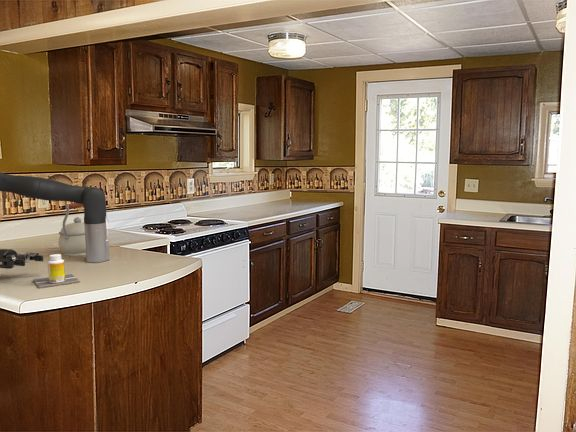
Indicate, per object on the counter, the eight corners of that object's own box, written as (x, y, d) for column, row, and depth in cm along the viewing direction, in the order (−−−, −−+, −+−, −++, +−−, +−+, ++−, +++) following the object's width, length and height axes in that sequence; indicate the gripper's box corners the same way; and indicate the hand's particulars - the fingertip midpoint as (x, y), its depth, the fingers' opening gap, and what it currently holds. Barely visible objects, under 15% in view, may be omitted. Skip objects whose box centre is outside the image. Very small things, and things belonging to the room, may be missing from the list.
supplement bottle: (68, 281, 192) (66, 254, 191) (52, 284, 188) (50, 257, 187) (61, 279, 196) (59, 253, 195) (46, 282, 192) (44, 255, 191)
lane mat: (71, 275, 205) (71, 273, 205) (79, 282, 193) (79, 280, 193) (32, 280, 197) (32, 279, 197) (39, 288, 185) (39, 286, 185)
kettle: (83, 258, 238) (80, 205, 235) (48, 257, 242) (44, 204, 239) (112, 248, 263) (109, 199, 259) (80, 247, 266) (76, 199, 263)
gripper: (-16, 252, 193) (17, 254, 188) (16, 245, 207) (47, 247, 201) (-14, 271, 194) (18, 274, 189) (17, 264, 207) (49, 266, 202)
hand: (33, 260), depth 195 cm, fingers open, 8 cm apart
